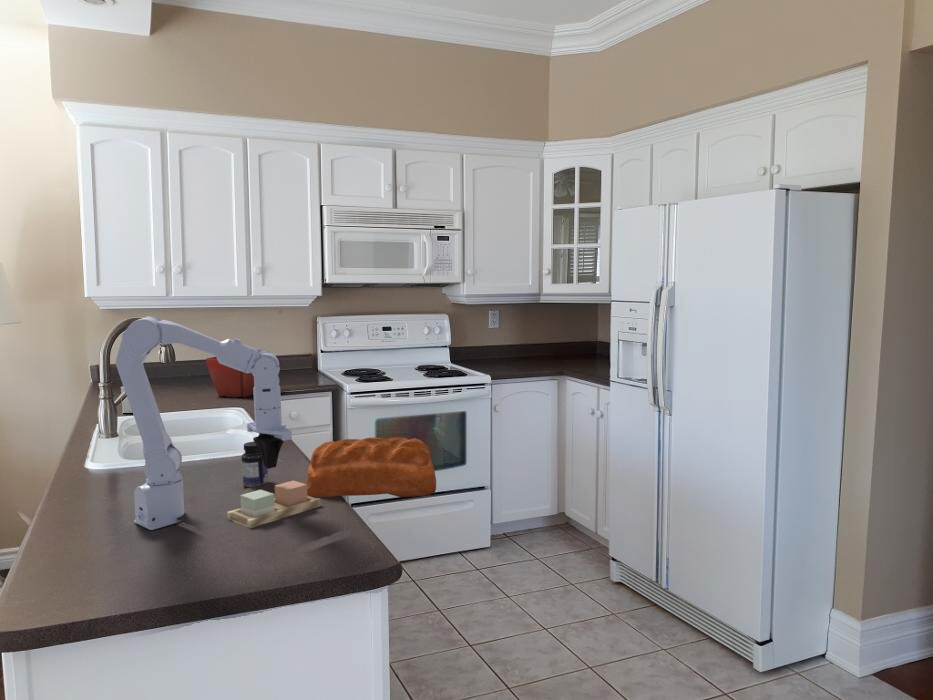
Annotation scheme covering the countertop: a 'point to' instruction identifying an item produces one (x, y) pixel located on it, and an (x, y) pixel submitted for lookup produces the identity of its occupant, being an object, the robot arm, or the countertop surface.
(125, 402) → the small box
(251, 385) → the plant pot
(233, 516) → the socket board
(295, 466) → the countertop surface
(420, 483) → the bread
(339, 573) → the countertop surface
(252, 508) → the two tone brick
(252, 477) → the pill bottle
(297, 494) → the terracotta brick
